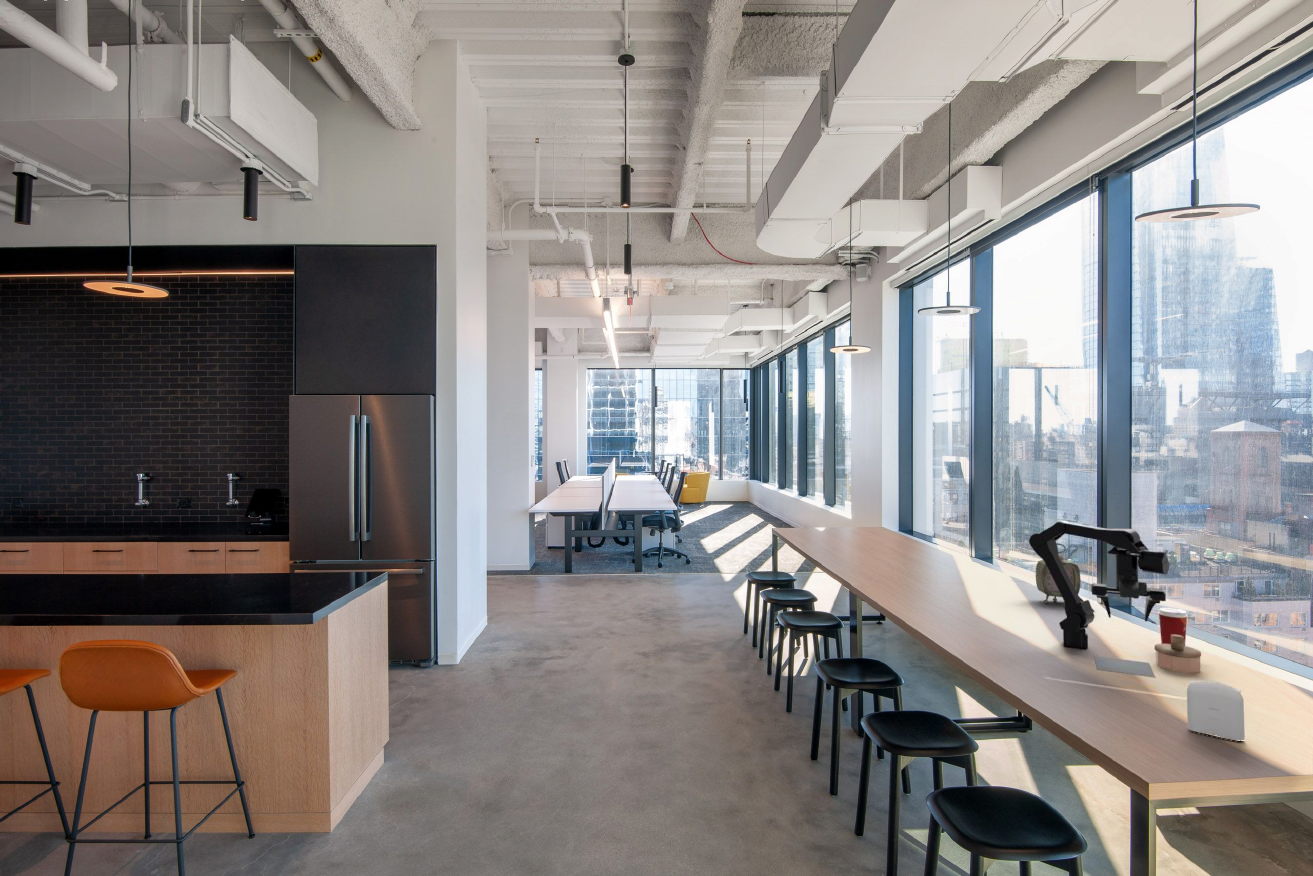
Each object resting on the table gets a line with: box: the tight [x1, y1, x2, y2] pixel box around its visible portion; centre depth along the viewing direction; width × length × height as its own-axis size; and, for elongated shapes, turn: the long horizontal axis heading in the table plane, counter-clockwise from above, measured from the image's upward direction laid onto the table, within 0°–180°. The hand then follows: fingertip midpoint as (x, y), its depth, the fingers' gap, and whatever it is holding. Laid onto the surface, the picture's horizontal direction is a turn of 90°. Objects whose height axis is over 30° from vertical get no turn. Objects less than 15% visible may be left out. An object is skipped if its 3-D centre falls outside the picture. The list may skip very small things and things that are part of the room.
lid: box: [1154, 635, 1202, 658], centre depth 199 cm, size 11×11×5 cm
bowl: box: [1155, 650, 1201, 674], centre depth 199 cm, size 10×10×5 cm
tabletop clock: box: [1035, 542, 1081, 604], centre depth 279 cm, size 14×9×25 cm, turn 81°
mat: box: [1094, 655, 1156, 678], centre depth 200 cm, size 14×14×1 cm
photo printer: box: [1186, 680, 1246, 741], centre depth 155 cm, size 10×4×12 cm, turn 47°
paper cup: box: [1157, 607, 1189, 646], centre depth 213 cm, size 8×8×14 cm
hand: (1127, 619), depth 208 cm, fingers open, 9 cm apart
